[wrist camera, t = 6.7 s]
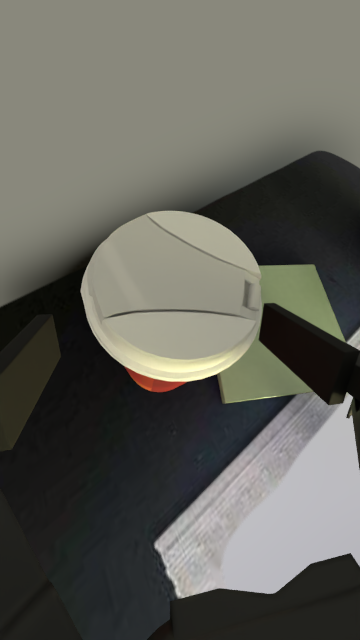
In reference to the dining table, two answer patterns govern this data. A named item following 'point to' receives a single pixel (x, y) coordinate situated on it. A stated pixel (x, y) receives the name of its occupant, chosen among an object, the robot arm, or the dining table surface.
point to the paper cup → (173, 298)
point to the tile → (260, 363)
